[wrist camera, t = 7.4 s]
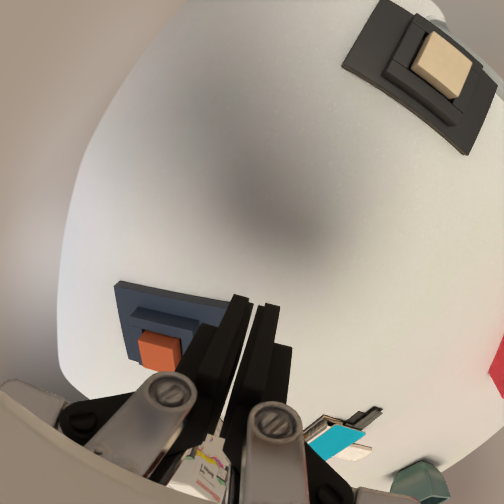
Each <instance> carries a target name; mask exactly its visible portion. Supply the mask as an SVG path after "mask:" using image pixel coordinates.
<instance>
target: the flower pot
mask: <svg viewBox="0 0 504 504" xmlns="http://www.w3.org/2000/svg"><path fill="white" fill-rule="evenodd" d="M390 493H395V494H401V495H408V496H412V497H415V498H416V499H417V500H419V501H420V503H421V504H439V503H442V502H444V501H446V500H448V499H450V498H451V496H450V493H449V490H448V487H447V484H446V481H445V479H444V477H443V475H442V474H441V473H440V471H439V470H438V469H437V468H436V467H434V466H433V465H432V464H429V463H426V462H423V461H420V462H418V463H416V464H414V465H412V466H410V467H408V468H406V469H404V470H402V471H400V472H399V473H398V474H397V476H396V477H395V479H394V481H393V483H392V486H391V489H390Z"/></svg>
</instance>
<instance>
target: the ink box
mask: <svg viewBox="0 0 504 504" xmlns="http://www.w3.org/2000/svg"><path fill="white" fill-rule="evenodd" d="M222 425H223V422H222V421H221V419H219V422H218V425H217V428H216V431H215V433H214V436H213V435H210V434H207V437H206V440H205V442H204V441H203V443H202V445H199V446H196V447H193V448H190V450H189V453H188V454H187V456H186V457H185V459H184V460H183V462H182V464H181V465H180V467H179V468H178V470H177V471H176V473H175V474H174V476H173V477H172V479H171V480H170V482H169V483H168V485H167V486H166V487H169V488H171V489H174V490H177V491H180V492H183V493H186V494H189V495H192V496H195V497H199V498H202V499H205V500H209V501H213V502H216V503H220V504H221V502H222V499H223V495H224V492H225V488H226V485H227V480H228V469H229V463H230V461H229V459H228V458H227V457H226V455H225V454H224V452H223V451H222V449H223V445H224V442H225V439H224V438H220V437H219V435H220V432H221V428H222Z"/></svg>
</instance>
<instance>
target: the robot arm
mask: <svg viewBox="0 0 504 504" xmlns="http://www.w3.org/2000/svg"><path fill="white" fill-rule="evenodd" d="M248 301H249V298H247V297H243V296H240V295H236V294H234V295H233V297H232V299H231V301H230V303H229V306H228V308H227V310H226V312H225V314H224V316H223V318H222V320H221V322H220V324H219V326H218V327H217V326H213V325H210V324H207V323H204V322H203V323H202V324H201V325H200V327H199V328H198V330H197V332H196V334H195V335H194V337H193V339H192V341H191V342H190V344H189V346H188V348H187V350H186V351H185V353H184V355H183V357H182V358H181V360H180V362H179V364H178V365H177V367H176V369H175V371H174V372H172V371H163V372H158V373H155V374H153V375H152V376H150V377H149V378H148V379H147V380H146V381H145V382H144V383H143V384H142V385H141V386H140V387H139V388H138V389H137V390H136V391H135V392H131V393H126V394H121V395H115V396H110V397H104V398H98V399H92V400H86V401H79V402H75V403H69V402H67V400H66V398H63V397H60V396H58V395H55V394H52V393H50V392H47V391H45V390H42V389H40V388H38V387H35V386H33V385H30V384H28V383H26V382H24V381H22V380H19V379H8V380H7V381H5V382H3V383H2V384H1V385H0V504H220V503H216V502H213V501H209V500H205V499H202V498H199V497H195V496H192V495H189V494H186V493H183V492H180V491H177V490H174V489H171V488H169V487H166V486H167V485H168V483H169V482H170V480H171V479H172V477H173V476H174V474H175V473H176V471H177V470H178V468H179V467H180V465H181V464H182V462H183V460H184V459H185V457H186V456H187V454H188V453H189V450H190V448H193V447H196V446H199V445H202V443H203V441H204V442H205V440H206V437H207V434H210V435H213V436H214V433H215V431H216V428H217V425H218V422H219V419H220V416H221V413H222V410H223V407H224V404H225V401H226V398H227V395H228V392H229V389H230V386H231V383H232V380H233V377H234V374H235V371H236V368H237V365H238V362H239V358H240V354H241V351H242V347H243V343H244V339H245V336H246V332H247V328H248V324H249V320H250V317H251V313H252V309H253V305H254V304H253V303H250V302H248ZM279 312H280V306H276V305H272V304H269V303H265V306H260V305H258V308H257V312H256V315H255V318H254V321H253V325H252V328H251V331H250V334H249V338H248V341H247V344H246V347H245V350H244V354H243V357H242V360H241V363H240V366H239V369H238V373H237V376H236V379H235V382H234V386H233V389H232V393H231V396H230V400H229V403H228V407H227V410H226V414H225V418H224V421H223V425H222V428H221V432H220V435H219V437H220V438H224V439H225V442H224V445H223V449H222V451H223V452H224V454H225V455H226V457H227V458H228V459H229V461H230V463H229V469H228V480H227V491H226V503H225V504H421V503H420V501H419V500H417V499H416V498H415V497H412V496H408V495H401V494H395V493H389V492H383V491H378V490H373V489H369V488H364V487H359V488H353V487H350V485H349V484H348V483H347V482H346V481H345V480H344V479H343V478H342V477H341V476H340V475H339V474H338V473H337V472H336V471H335V470H334V469H333V468H332V467H331V466H330V465H328V464H327V463H326V462H325V461H324V460H323V459H322V458H321V457H320V456H319V455H318V454H317V453H316V452H315V451H314V450H313V449H312V447H311V446H310V445H309V444H308V443H307V442H306V441H305V440H304V436H303V427H302V421H301V418H300V416H299V415H298V413H297V412H296V411H295V410H294V409H293V408H291V407H290V406H288V405H286V402H287V393H288V385H289V376H290V367H291V358H292V347H289V346H285V345H281V344H277V343H274V340H275V334H276V329H277V323H278V318H279Z"/></svg>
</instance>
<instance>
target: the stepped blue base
mask: <svg viewBox="0 0 504 504" xmlns="http://www.w3.org/2000/svg"><path fill="white" fill-rule="evenodd" d="M114 290H115V296H116V302H117V308H118V313H119V318H120V323H121V328H122V333H123V337H124V342H125V346H126V350H127V354H128V358H129V359H130V360H133V361H137V362H139V365H142V366H143V363H142V359H141V354H140V349H139V344H138V339H139V338H140V337H141V335H142V334H143V333H144V331H145V330H149V331H152V332H156V333H160V334H164V335H168V336H172V337H176V338H179V339H180V349H181V358H182V357H183V355H184V353H185V351H186V350H187V348H188V346H189V344H190V342H191V341H192V339H193V337H194V335H195V334H196V332H197V330H198V328H199V327H200V325H201V324H202V323H203V322H204V323H207V324H210V325H213V326H217V327H218V326H219V324H220V322H221V320H222V318H223V316H224V314H225V312H226V310H227V308H228V306H229V303H230V302H224V301H218V300H213V299H207V298H202V297H196V296H191V295H186V294H180V293H175V292H170V291H165V290H160V289H155V288H150V287H146V286H141V285H136V284H132V283H127V282H123V281H119V282H118V283H117V284H115V285H114Z"/></svg>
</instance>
